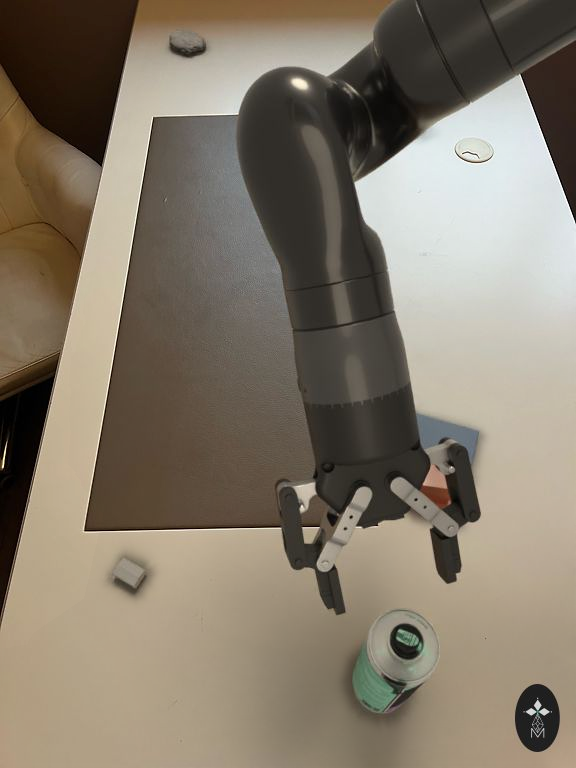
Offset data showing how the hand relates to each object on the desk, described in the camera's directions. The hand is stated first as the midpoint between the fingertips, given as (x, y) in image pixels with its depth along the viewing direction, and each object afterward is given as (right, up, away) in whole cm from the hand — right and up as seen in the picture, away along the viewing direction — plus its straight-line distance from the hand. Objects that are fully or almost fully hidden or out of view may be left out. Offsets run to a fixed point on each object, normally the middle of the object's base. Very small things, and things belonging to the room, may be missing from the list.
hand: (393, 593), depth 46 cm
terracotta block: (+9, +4, +25) cm, 27 cm away
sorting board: (+10, +6, +28) cm, 30 cm away
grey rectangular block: (-25, -5, +21) cm, 33 cm away
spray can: (+1, -14, +15) cm, 20 cm away
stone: (-28, +85, +82) cm, 121 cm away
